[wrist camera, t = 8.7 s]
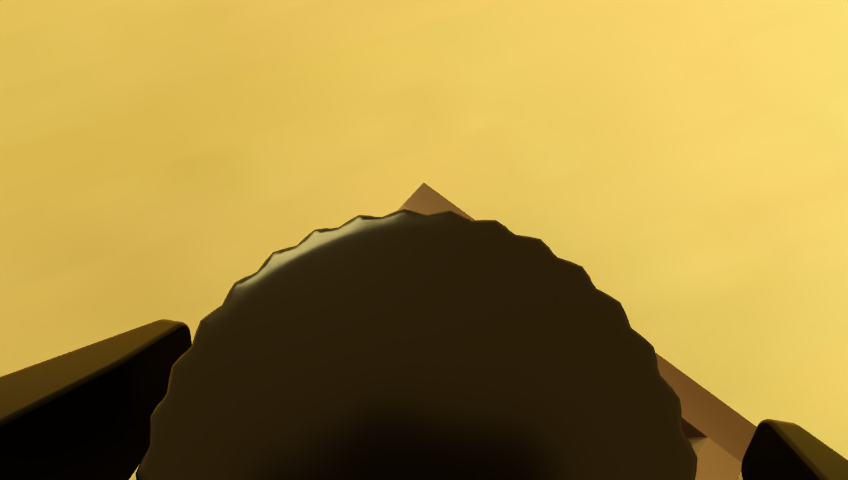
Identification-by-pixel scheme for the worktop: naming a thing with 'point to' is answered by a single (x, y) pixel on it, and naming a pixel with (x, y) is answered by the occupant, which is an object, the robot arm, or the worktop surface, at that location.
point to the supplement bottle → (417, 367)
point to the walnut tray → (701, 411)
